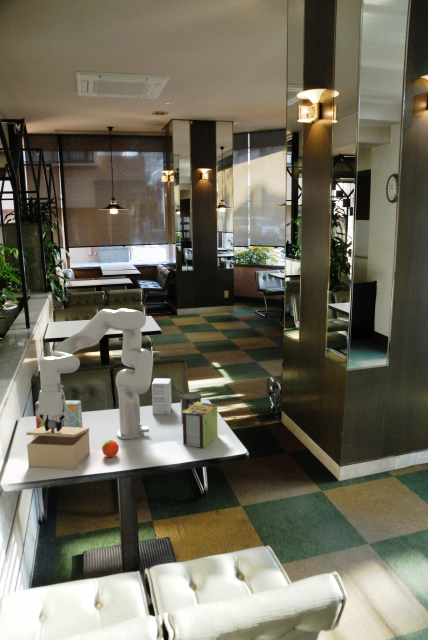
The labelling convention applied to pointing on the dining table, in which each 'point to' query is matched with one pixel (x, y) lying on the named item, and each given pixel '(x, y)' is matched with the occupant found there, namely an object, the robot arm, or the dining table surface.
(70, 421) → the snack box
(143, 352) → the robot arm
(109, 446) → the clementine
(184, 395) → the coffee can
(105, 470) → the dining table surface
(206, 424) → the protein box
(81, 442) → the carton
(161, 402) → the supplement box
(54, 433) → the lid flap
